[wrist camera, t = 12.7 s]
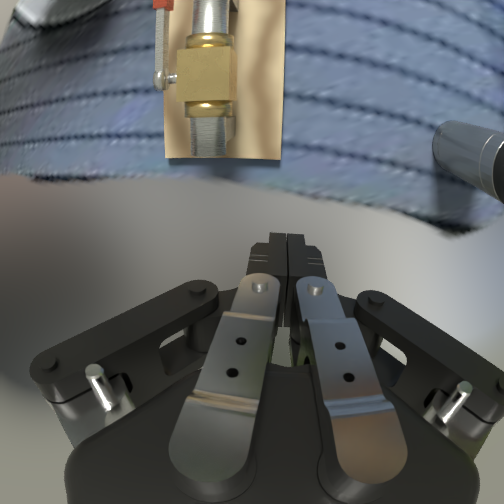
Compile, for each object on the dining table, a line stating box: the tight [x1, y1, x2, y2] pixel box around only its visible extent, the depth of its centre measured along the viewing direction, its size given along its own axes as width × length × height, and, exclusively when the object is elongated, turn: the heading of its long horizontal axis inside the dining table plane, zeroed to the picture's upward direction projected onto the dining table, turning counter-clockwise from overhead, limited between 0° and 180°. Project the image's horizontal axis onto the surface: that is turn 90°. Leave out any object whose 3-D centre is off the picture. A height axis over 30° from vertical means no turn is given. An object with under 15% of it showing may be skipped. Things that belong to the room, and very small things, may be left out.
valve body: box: [168, 0, 239, 157], centre depth 32 cm, size 8×26×12 cm, turn 179°
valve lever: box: [153, 0, 174, 91], centre depth 28 cm, size 2×3×16 cm
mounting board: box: [164, 0, 285, 160], centre depth 38 cm, size 18×30×2 cm, turn 179°
